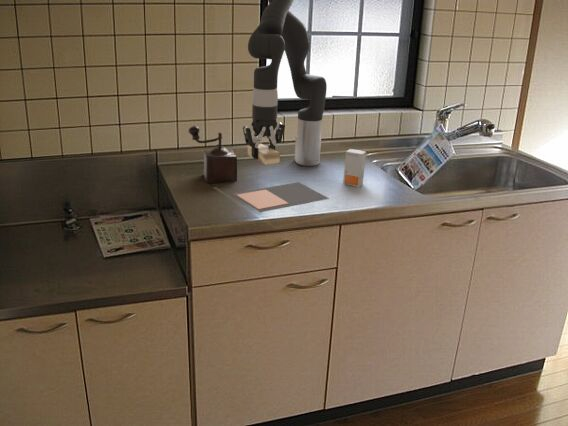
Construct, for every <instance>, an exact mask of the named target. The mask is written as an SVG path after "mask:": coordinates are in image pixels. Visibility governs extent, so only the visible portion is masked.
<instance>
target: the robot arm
mask: <svg viewBox="0 0 568 426" xmlns="http://www.w3.org/2000/svg"><path fill="white" fill-rule="evenodd" d="M267 1H268V5H267V6H266V7H265V8H264V10H263V12H262V15H261V19H260V21H259V24H258V26H257V27H256V28H255V30H254V31H253V32H252V33H251V35H250V37H249V38H248V39H249V40H248V41H247V42H248V43H247V50H248V53H249V55H250V56H251V57H252V58H253V59H258V60H259V59H260V60H261V59H262V60H263V59H264V60H271V61H270V64H268V65H264V66H258V67H256V68H255V69H254V70H253V90H252V98H251V99H252V100H251V102H252V104H251V105H252V107H251V108H252V109H251V110H252V111H251V114H252V115H251V119H252V122H251V124H250V125H249V126H245V125H244V126H243V127H242V130H243V136H244V141H245V144H246V145H247V146H248V145H249V146H251V147H252V157H253V158H252V157H251V158H252V159H254V160H256V159H258V151H259V148H258V146H259V144H261V143H260V142H261V141H262V139H263V138H265V137H266V138H267V139H268V143H269V144H267V147H269V148H271V149H274V150H276V145H278V144H281V143H282V141H283V140H282V139H283V136H284V133H285V129H286V125H285V124H284V123H282V122H278V121H277V118H278V104H279V103H278V101H279V97H278V95H279V94H278V78H279V77H278V76H279V75H278V74H279V70H280V64H281V62H282V59H283V55H284V53H285V54H286V55H285V56H286V58H287V62H288V66H289V71H290V74H291V81H292V85H293V90H294V92H295V95H296V97H297V98H298V99H300V100H304V101H305V100H306V101H309V106H308V107H305V108H302V109H299V110H298V111H297V122H296V123H297V126H296V128H297V130H296V131H297V132H296V136H295V140H294V141H295V142H294V143H295V144H294V161H295V163H296V164H297V165H300V166H304V167H305V166H307V167H309V166H310V167H311V166H313V167H315V166H317V165H319V164H320V161H321V159H320V158H321V147H322V146H321V144H322V132H323V131H322V130H323V129H322V128H323V116H324V112H325V105H326V97H327V96H326V95H327V85H328V84H327V81H326V78H325V77H323V76H319V75H315V74H308V73H307V71H306V67H305V61H306V58H307V56H308V53H309V51H310V47H311V42H310V39H309V38H310V37H309V34H308V31H307V27H306V26H305V24H304V22H303V21H302V20H301V19H300V18H298V17H297V15H296V14H294V13H293V12H292V11H291V10H290V9H291V6H292V5H293V2H294V0H267ZM252 133H253V134H252Z"/></svg>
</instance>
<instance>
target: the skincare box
mask: <svg viewBox="0 0 568 426" xmlns="http://www.w3.org/2000/svg"><path fill="white" fill-rule="evenodd" d="M366 158H367V151H363V150H360V149H353V148H349V149H348V150H346V151H345V159H344V170H343V182H342V184H344V185H348V186H351V187H355V188H356V187H357V188H359V187H361V186H362V185H363V184H364V175H365V165H366Z"/></svg>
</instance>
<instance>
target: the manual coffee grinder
mask: <svg viewBox="0 0 568 426" xmlns="http://www.w3.org/2000/svg"><path fill="white" fill-rule="evenodd" d="M188 133H189V134H190V135H191V136H192V139H191V140H192V141H195V142H196V143H198V144H207V143H212V142H217V141H218V143H217V145H216V146H214V147H213V148H210V149H209V148H208V149H207V148H206V149H203V178H204V180H205V182H206V183H207V184H208V185H209V184H210V185H212V184H214V185H215V184H223V183H229V182H237V181H238V157H237V155H236V153H235V151H234V149H233V148H227V147H225V146H222V140H223V136H222V135H223V133H222V132H218V133H217V134H218V136H217V137H216V138H212V139H206V140H200V139H201V136H200V135H199V133H200V127H199V126H197V125H192V126H190V127H189V128H188Z"/></svg>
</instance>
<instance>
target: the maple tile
mask: <svg viewBox="0 0 568 426" xmlns="http://www.w3.org/2000/svg"><path fill="white" fill-rule="evenodd" d="M258 148H259V151H258V159H255V160H256V161H257V162H259V163H261V164H263V165H265V166H267V165H273V164H279V163H280V161H281V152H280V151H277V150H276V149H275V150H274V149H271V148H269V147H268V145H266V144H263V143H259V146H258ZM247 156H248V157H250V158H252V159H254V158H253V157H252V147H251V146H249V145H247Z"/></svg>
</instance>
